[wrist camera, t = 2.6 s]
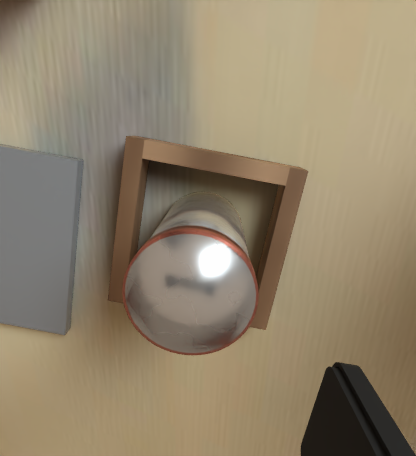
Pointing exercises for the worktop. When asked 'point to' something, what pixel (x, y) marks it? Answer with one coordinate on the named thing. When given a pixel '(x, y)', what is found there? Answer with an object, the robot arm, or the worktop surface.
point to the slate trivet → (38, 237)
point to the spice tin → (193, 278)
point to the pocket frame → (220, 163)
